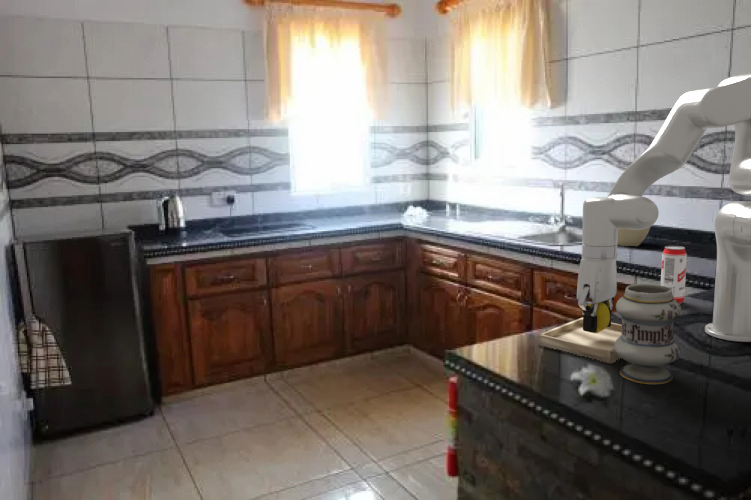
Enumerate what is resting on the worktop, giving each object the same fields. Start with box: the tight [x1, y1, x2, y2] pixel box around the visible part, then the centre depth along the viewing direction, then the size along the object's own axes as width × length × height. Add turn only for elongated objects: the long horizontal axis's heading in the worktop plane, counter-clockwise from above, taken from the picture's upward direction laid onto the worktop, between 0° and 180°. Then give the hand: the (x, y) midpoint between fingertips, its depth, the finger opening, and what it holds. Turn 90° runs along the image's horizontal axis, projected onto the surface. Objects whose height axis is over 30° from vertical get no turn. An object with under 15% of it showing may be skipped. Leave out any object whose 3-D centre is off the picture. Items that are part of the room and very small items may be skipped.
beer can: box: [660, 245, 688, 305], centre depth 176 cm, size 6×6×16 cm
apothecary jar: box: [614, 283, 682, 385], centre depth 123 cm, size 12×12×18 cm
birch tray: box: [537, 316, 622, 364], centre depth 144 cm, size 20×18×2 cm
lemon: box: [588, 302, 610, 333], centre depth 143 cm, size 6×6×8 cm
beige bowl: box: [617, 227, 651, 247], centre depth 268 cm, size 18×18×12 cm
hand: (597, 327), depth 144 cm, fingers closed on lemon, 5 cm apart
